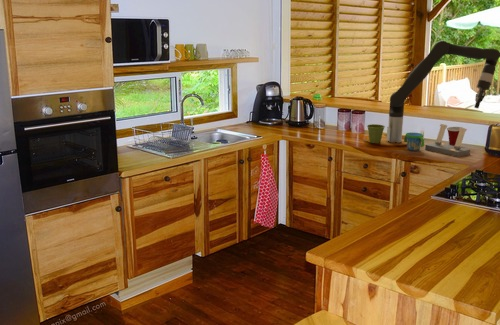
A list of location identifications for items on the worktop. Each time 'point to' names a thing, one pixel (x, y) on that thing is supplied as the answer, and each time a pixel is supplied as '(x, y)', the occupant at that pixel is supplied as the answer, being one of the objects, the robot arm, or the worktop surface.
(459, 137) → the outer lever
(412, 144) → the snack cup
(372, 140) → the plant pot
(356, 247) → the worktop surface
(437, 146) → the switch base
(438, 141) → the inner lever
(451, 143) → the plastic cup
